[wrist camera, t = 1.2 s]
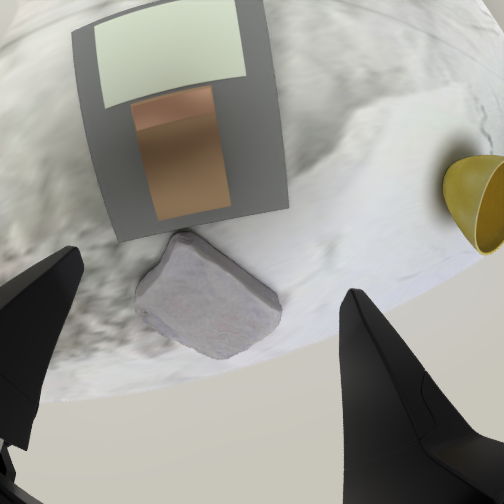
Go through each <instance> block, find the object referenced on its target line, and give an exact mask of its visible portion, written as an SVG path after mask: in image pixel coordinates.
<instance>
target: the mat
mask: <svg viewBox="0 0 504 504" xmlns="http://www.w3.org/2000/svg"><path fill="white" fill-rule="evenodd" d="M71 33H72V47H73V58H74V67H75V75H76V83H77V89H78V96H79V101H80V107H81V112H82V118H83V123H84V127H85V132H86V136H87V141H88V145H89V149H90V153H91V157H92V161H93V165H94V168H95V172H96V176H97V179H98V183H99V186H100V189H101V193H102V196H103V199H104V202H105V205H106V208H107V211H108V214H109V217H110V220H111V223H112V226H113V229H114V232H115V234H116V237H117V240H118V242H119V243H121V242H125V241H129V240H133V239H138V238H142V237H147V236H151V235H155V234H160V233H165V232H169V231H174V230H178V229H183V228H188V227H193V226H197V225H202V224H207V223H212V222H217V221H222V220H227V219H233V218H238V217H243V216H248V215H254V214H259V213H265V212H270V211H276V210H282V209H287V208H289V200H288V188H287V177H286V167H285V157H284V148H283V138H282V130H281V121H280V113H279V105H278V97H277V89H276V82H275V75H274V68H273V61H272V54H271V48H270V41H269V35H268V29H267V23H266V17H265V12H264V6H263V1H262V0H160V1H156V2H152V3H148V4H145V5H141V6H138V7H134V8H131V9H128V10H125V11H122V12H119V13H116V14H113V15H111V16H108V17H105V18H103V19H100V20H98V21H95V22H93V23H91V24H88V25H86V26H84V27H81V28H79V29H77V30H75V31H73V32H71ZM208 85H211V87H212V93H213V99H214V105H215V111H216V118H217V124H218V130H219V136H220V142H221V148H222V154H223V160H224V166H225V171H226V177H227V183H228V189H229V195H230V200H231V206H228V207H222V208H217V209H212V210H207V211H202V212H198V213H193V214H188V215H183V216H179V217H174V218H170V219H165V220H161V221H158V218H157V214H156V211H155V207H154V204H153V200H152V197H151V193H150V189H149V185H148V181H147V178H146V174H145V170H144V166H143V161H142V157H141V153H140V149H139V144H138V140H137V135H136V130H135V126H134V121H133V116H132V110H131V105H130V104H133V103H136V102H140V101H143V100H147V99H150V98H154V97H158V96H162V95H166V94H170V93H174V92H178V91H183V90H188V89H192V88H197V87H203V86H208Z"/></svg>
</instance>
